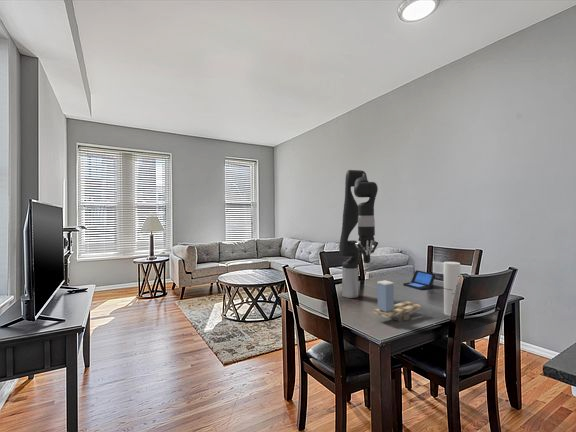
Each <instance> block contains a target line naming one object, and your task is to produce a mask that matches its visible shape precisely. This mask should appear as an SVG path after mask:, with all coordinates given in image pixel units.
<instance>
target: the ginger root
mask: <svg viewBox="0 0 576 432" xmlns="http://www.w3.org/2000/svg"><path fill="white" fill-rule="evenodd" d="M420 309H422V305H421V304H418V303H415V302H411V301H410V300H409V301H408V300H407V301H402V302H399V303H394V310H391V311H387V312H382V310H380V309H378V308H374V309H373V310H372V313H373V314H375V315H378V316H380V317H383V318H384V319H385V318H386V319H387V318H389V319H392V320H395V321H397V322H399V323H400V322H404V321H405V322H406V321H407V320H410V312H413V311H417V310H420Z"/></svg>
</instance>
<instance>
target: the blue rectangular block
mask: <svg viewBox="0 0 576 432" xmlns="http://www.w3.org/2000/svg"><path fill="white" fill-rule="evenodd" d="M394 284H395V283H394V281H393V282H392V281H389V280H379V281H376V285H377V288H376V289H377V291H376V292H377V293H376V294H377V309H380V310H382V312H387V311H391V310H394V304H395V300H394V298H395V297H394V296H395V295H394V289H395V288H394Z"/></svg>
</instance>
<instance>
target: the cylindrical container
mask: <svg viewBox="0 0 576 432" xmlns="http://www.w3.org/2000/svg"><path fill="white" fill-rule="evenodd" d="M459 275H460V276H461V263H460V262H458V261H444V262H443V314H444V315H445V316H449V317H451V316H450V315H451V310H452V304H453V299H454V295H455V290H456V285H457V280H458V276H459Z"/></svg>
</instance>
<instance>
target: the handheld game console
mask: <svg viewBox="0 0 576 432" xmlns="http://www.w3.org/2000/svg"><path fill="white" fill-rule="evenodd" d="M435 278H436V274H435V273H432V272H427V271H422V270H415V271H414V274H413V276H412V278H411V280H410V281H408V282H405V283H403V284H402V285H403V287H408V288H411V289H416V290H419V291H425V290H430V289H431V290H432V285H433V283H434V280H435Z"/></svg>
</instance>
